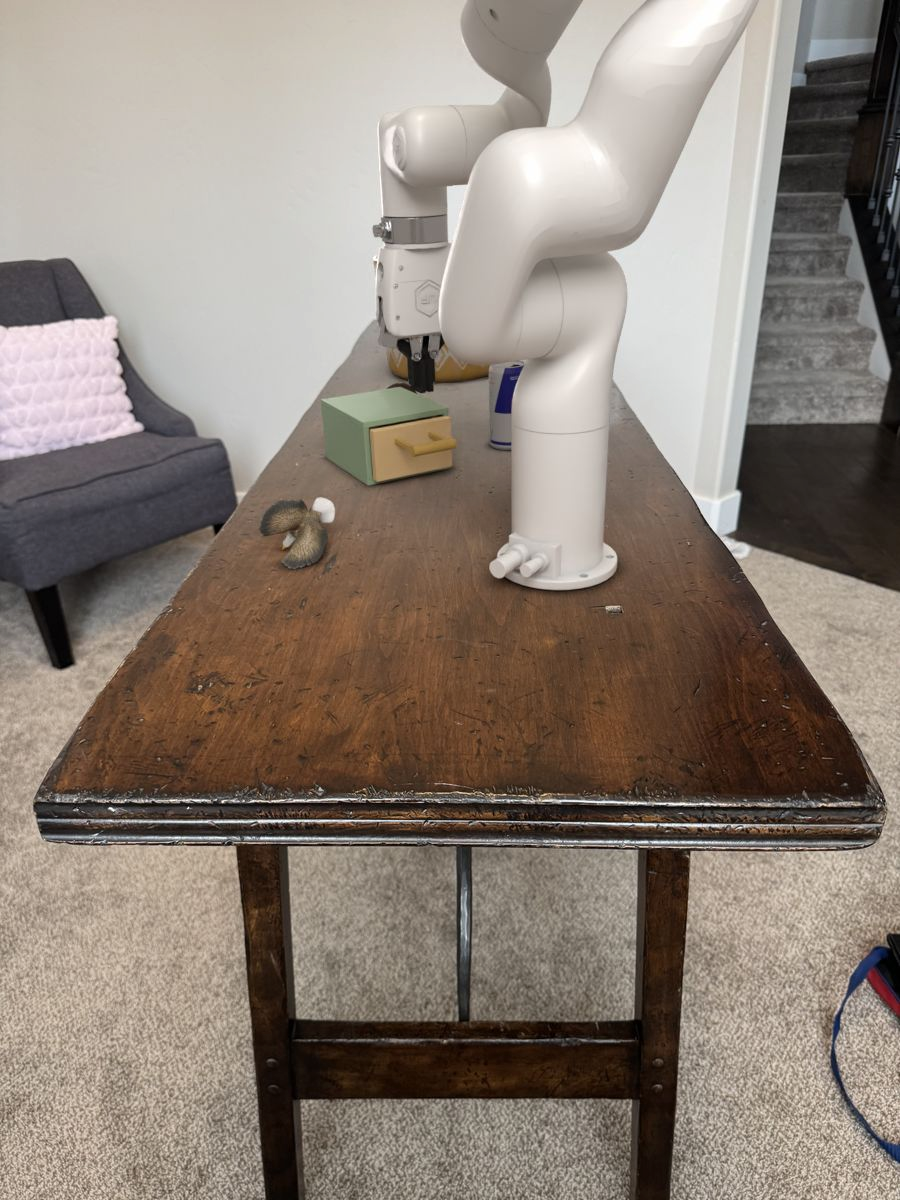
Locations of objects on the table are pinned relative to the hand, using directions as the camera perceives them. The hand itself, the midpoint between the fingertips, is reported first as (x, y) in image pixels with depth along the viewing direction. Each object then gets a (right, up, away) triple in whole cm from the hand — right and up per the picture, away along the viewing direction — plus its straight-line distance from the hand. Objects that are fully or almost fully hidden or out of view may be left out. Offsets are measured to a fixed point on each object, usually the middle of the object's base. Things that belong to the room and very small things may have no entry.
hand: (422, 390), depth 111 cm
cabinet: (-5, -7, +15) cm, 18 cm away
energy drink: (+12, -3, +21) cm, 25 cm away
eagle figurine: (-13, -21, -12) cm, 27 cm away
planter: (+3, +19, +67) cm, 69 cm away
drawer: (-3, -8, +11) cm, 14 cm away
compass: (-6, +2, +34) cm, 34 cm away
